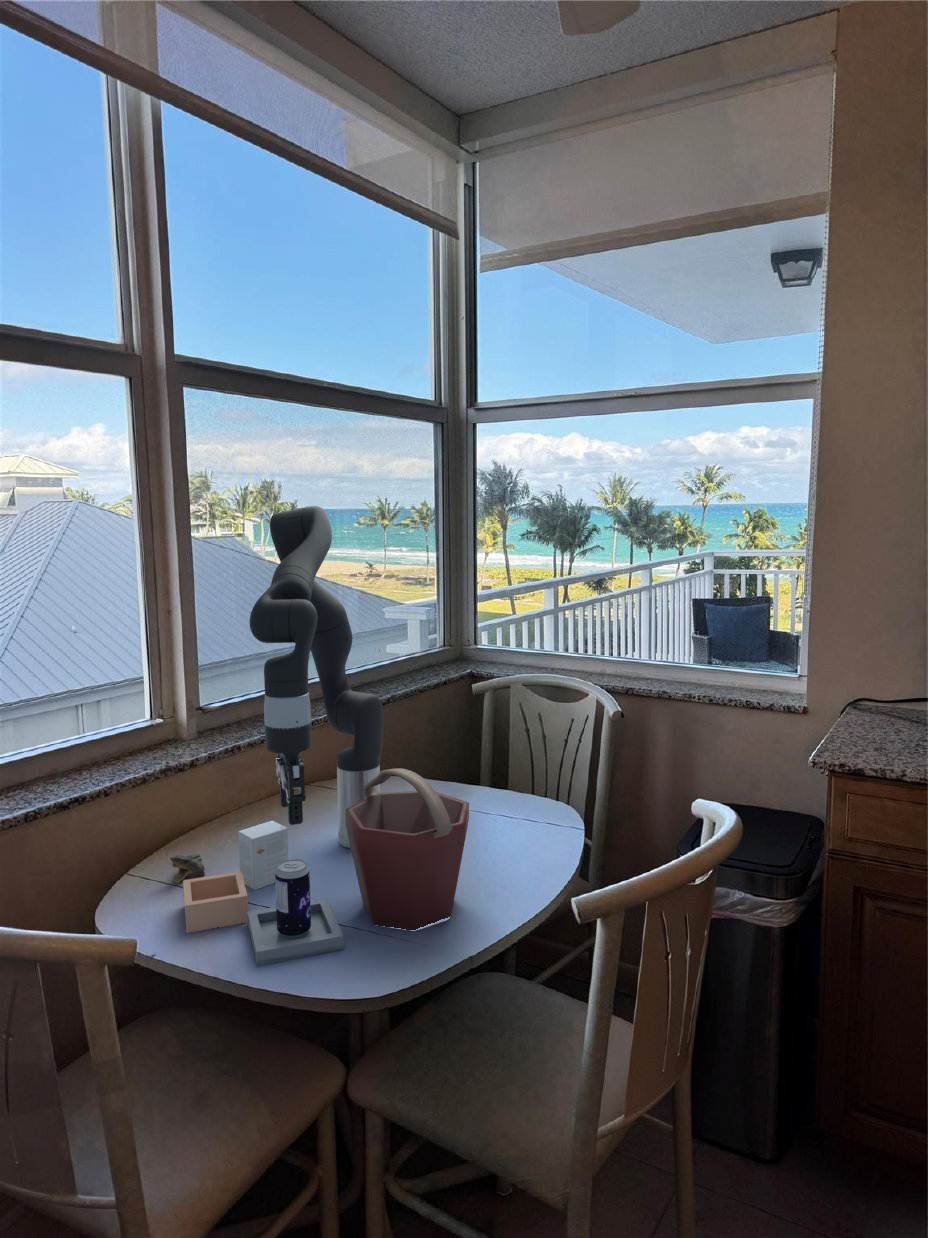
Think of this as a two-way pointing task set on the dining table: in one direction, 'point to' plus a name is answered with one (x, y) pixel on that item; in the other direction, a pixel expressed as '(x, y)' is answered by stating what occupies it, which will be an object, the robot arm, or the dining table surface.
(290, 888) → the beverage can
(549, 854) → the dining table surface
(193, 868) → the dinosaur head
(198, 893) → the peach open bin
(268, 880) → the small box
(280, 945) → the slate tray
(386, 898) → the bucket
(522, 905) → the dining table surface
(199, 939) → the dining table surface
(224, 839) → the dining table surface
